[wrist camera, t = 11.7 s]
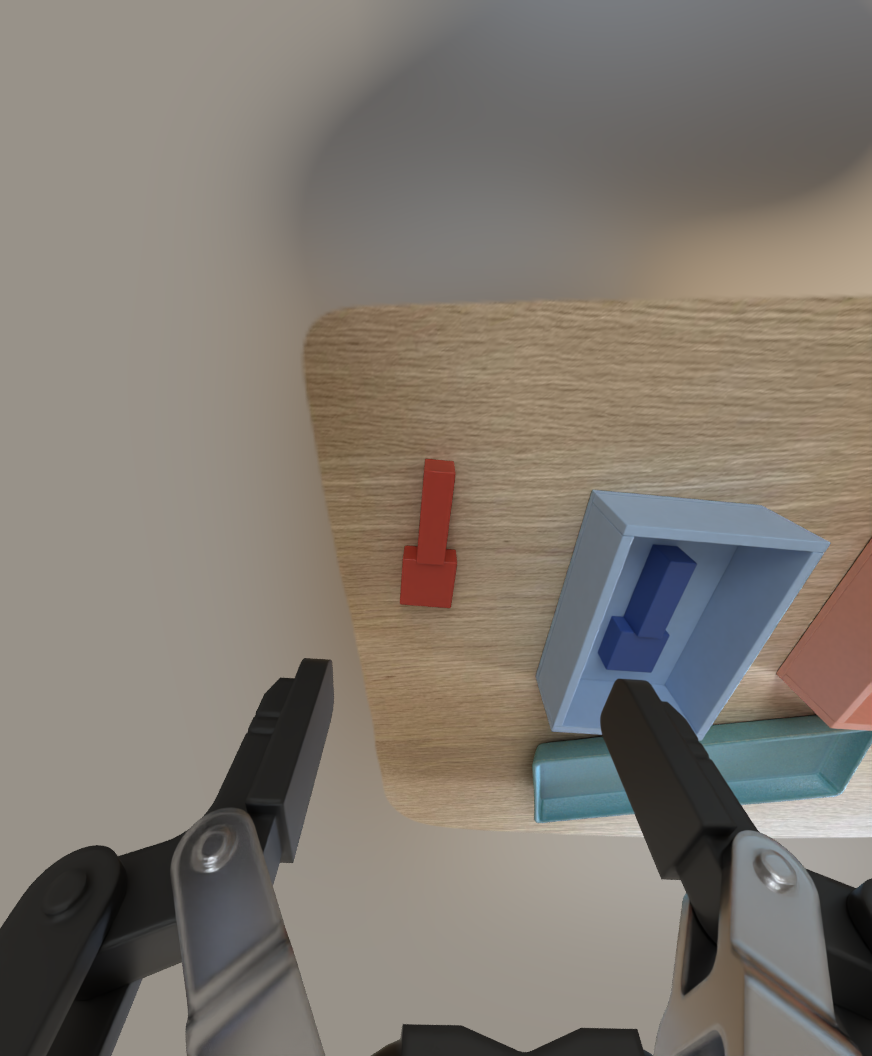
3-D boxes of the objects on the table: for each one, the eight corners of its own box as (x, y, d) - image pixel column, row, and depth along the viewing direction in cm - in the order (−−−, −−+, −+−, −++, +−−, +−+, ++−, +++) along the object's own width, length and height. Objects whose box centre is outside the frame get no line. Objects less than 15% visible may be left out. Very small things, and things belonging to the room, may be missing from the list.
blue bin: (592, 489, 22) (626, 524, 18) (761, 504, 23) (832, 542, 19) (535, 676, 29) (551, 731, 25) (665, 685, 29) (702, 741, 25)
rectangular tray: (856, 703, 30) (889, 732, 28) (819, 771, 35) (846, 801, 32) (525, 732, 32) (532, 762, 30) (528, 794, 36) (534, 824, 34)
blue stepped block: (639, 542, 23) (656, 560, 21) (690, 546, 23) (712, 564, 21) (596, 652, 27) (608, 675, 25) (640, 655, 27) (654, 678, 26)
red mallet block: (410, 457, 21) (408, 468, 19) (468, 462, 21) (471, 474, 20) (401, 589, 25) (399, 609, 23) (449, 593, 25) (451, 613, 24)
